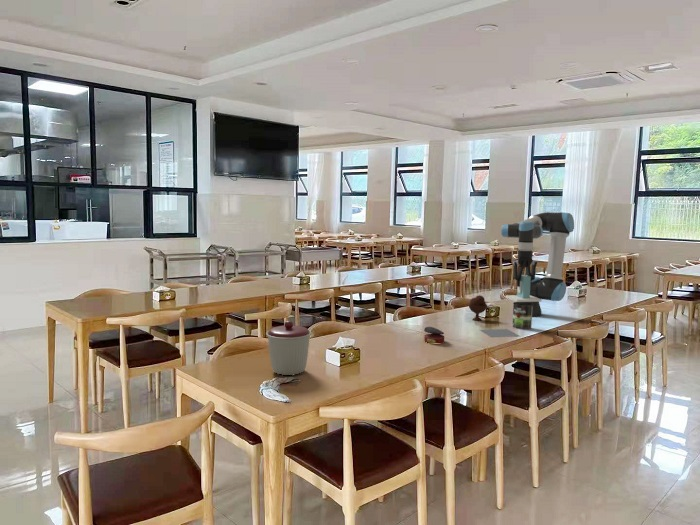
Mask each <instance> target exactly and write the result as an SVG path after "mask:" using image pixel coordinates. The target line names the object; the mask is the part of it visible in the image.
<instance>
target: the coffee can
mask: <svg viewBox="0 0 700 525" xmlns="http://www.w3.org/2000/svg"><path fill="white" fill-rule="evenodd" d="M512 308H513V309H512V328H514V329H516V330H523V331H524V330H531V329H532V327H533V326H532V324H533V323H532V322H533V316H532V308H533V304H532V303H528V302H516V301H513V306H512Z"/></svg>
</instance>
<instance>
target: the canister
mask: <svg viewBox="0 0 700 525" xmlns="http://www.w3.org/2000/svg"><path fill="white" fill-rule="evenodd" d="M311 334H312V331H311V330H310V329H309V328H307V327H304V326H301V325H295V324H294V322H293V321H291V320H286V321H285V322H284V324H283V325H279V326H274V327H272V328H270V329H269V330H267V331H266V332H265V336H267V340H268V350H269V359H270V363H271V369H272V371H273V372H274V374H276V373H277V374H276V375H279V374H282V375H281V376H283V375H292V376H294V375H293V374H298V375H300V374H302V373H303V372H305V370H306V368H307V361H308V356H309V355H308V354H309V346H310V336H311ZM301 372H302V373H301ZM299 373H300V374H299Z"/></svg>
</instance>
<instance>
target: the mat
mask: <svg viewBox="0 0 700 525" xmlns="http://www.w3.org/2000/svg"><path fill="white" fill-rule="evenodd" d="M479 331H480V332H482V333H483V334H485V335H487V336H488V337H489V338H510V337H511V338H512V337H513V338H514V337H518V338H519V337H520V335H519V334H517V333H515V332H513V331H512V330H510V329H508V328H499V329H497V328H494V329H492V328H491V329H479Z"/></svg>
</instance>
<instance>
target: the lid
mask: <svg viewBox="0 0 700 525" xmlns="http://www.w3.org/2000/svg"><path fill="white" fill-rule="evenodd" d="M520 281H522V286H521V293H519V292H518V286H517V285H516V287H517V289H516V295H515V294H513V295H511V294H508V295H505V298H506V299H509V300H511V301H513V302H539V303H540V302H542V300H543V299H539V298H536V297H533V296H531V295H530V282H531V277H530V276H527V274H522V276H521V280H520Z"/></svg>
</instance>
